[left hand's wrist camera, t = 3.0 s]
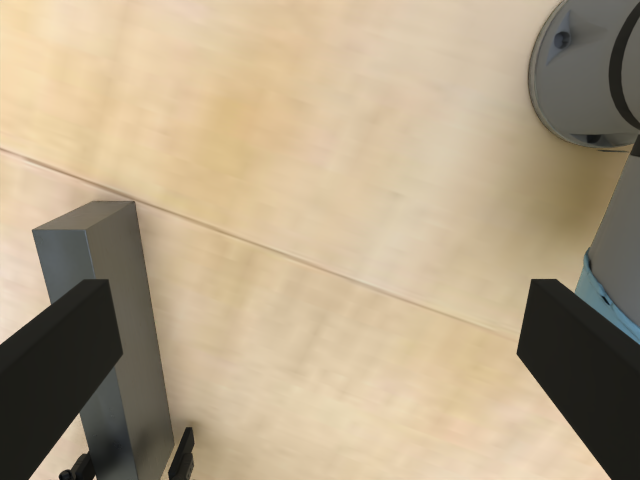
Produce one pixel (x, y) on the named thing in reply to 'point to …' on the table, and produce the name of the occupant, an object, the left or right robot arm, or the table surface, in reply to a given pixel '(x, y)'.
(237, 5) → the table surface
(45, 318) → the left robot arm
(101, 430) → the bar
